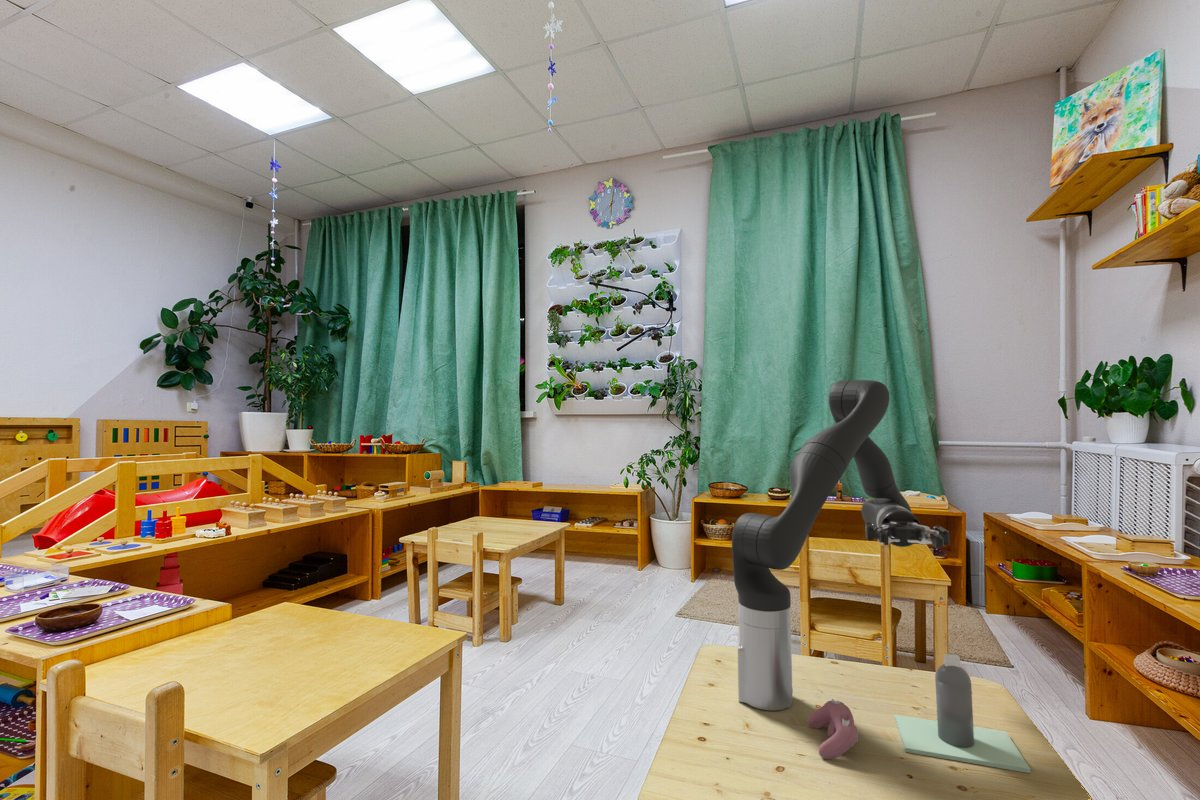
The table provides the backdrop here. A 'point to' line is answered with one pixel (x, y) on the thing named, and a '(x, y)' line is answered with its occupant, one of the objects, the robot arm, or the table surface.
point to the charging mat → (985, 751)
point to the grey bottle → (954, 703)
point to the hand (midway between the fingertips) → (912, 541)
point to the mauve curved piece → (835, 728)
